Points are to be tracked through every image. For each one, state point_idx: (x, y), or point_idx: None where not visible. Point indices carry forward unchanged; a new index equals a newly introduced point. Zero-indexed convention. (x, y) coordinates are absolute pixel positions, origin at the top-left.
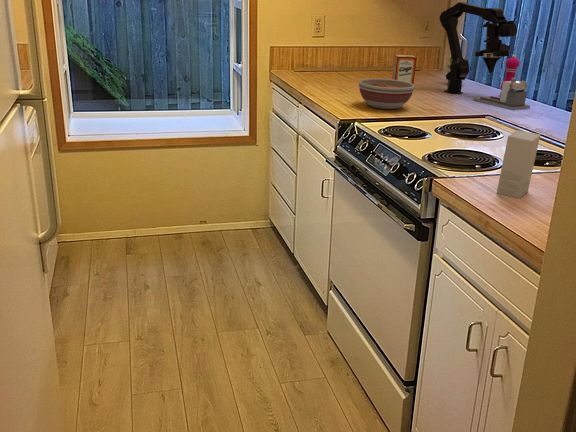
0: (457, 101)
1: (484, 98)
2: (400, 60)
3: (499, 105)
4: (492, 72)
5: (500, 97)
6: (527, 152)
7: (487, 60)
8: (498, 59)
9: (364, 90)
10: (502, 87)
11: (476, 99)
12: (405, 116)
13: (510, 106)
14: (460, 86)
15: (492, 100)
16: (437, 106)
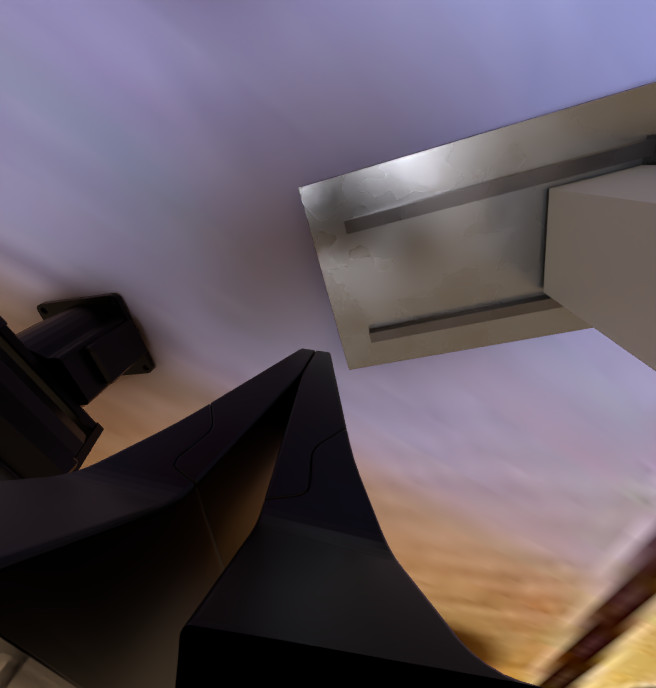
0: (367, 451)
1: (410, 334)
2: None
3: (582, 324)
4: (329, 353)
5: (562, 304)
6: None
7: (279, 658)
8: (425, 606)
9: None
10: (628, 347)
11: (374, 361)
12: (541, 659)
13: None
14: (111, 351)
15: (487, 319)
16: (449, 558)
